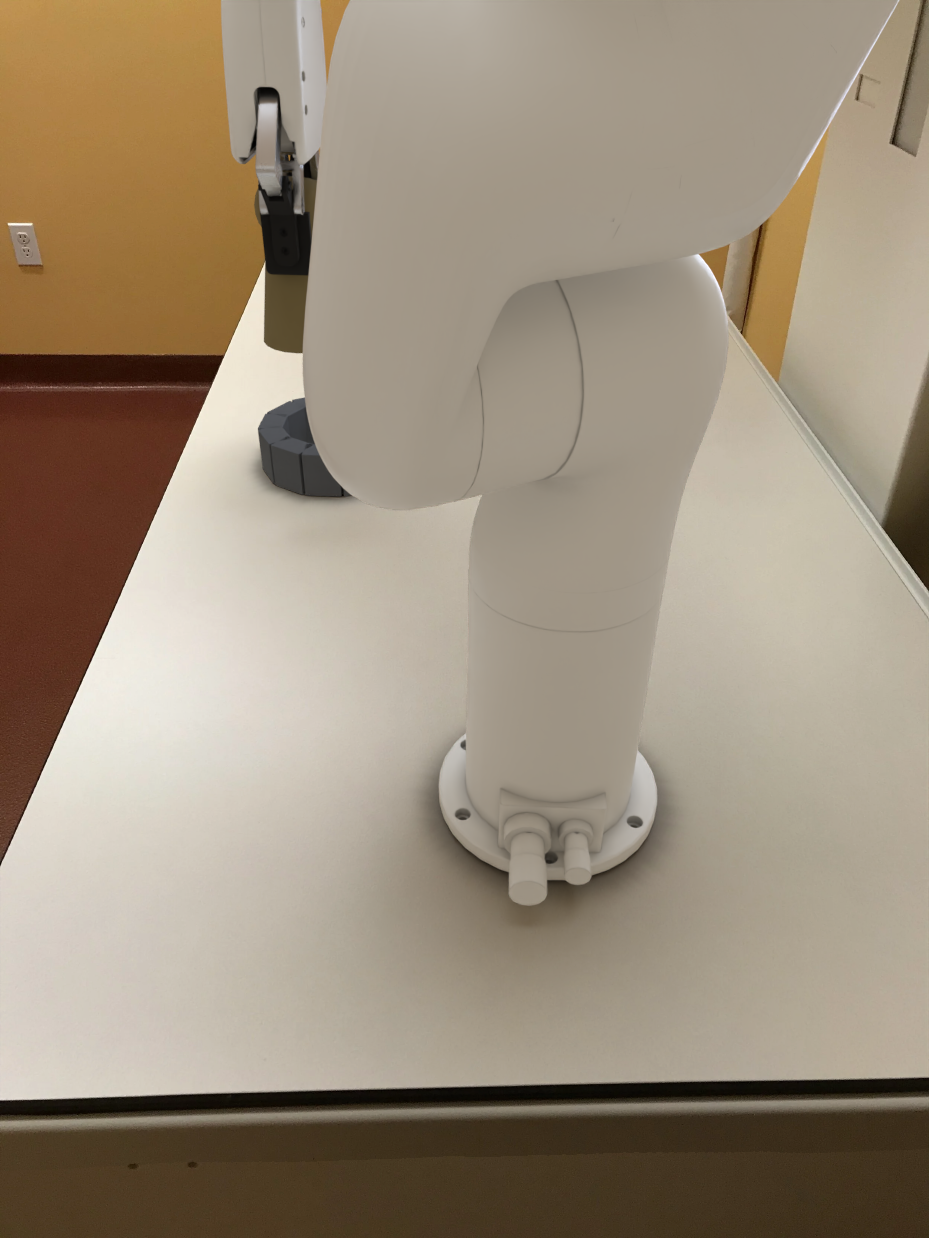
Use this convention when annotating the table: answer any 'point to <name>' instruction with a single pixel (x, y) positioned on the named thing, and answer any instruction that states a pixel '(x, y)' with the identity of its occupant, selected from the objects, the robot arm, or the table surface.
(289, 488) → the segmented block ring
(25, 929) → the table surface
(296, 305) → the olive pawn
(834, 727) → the table surface
